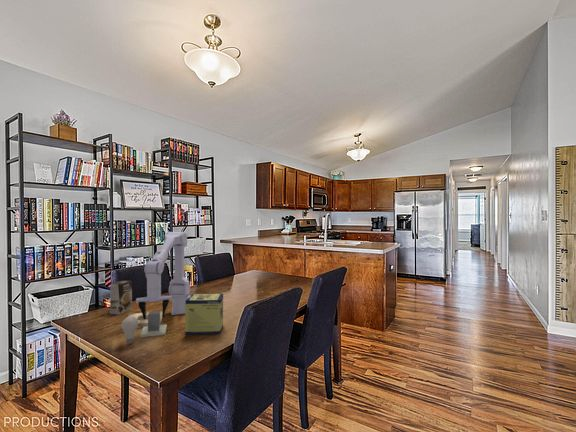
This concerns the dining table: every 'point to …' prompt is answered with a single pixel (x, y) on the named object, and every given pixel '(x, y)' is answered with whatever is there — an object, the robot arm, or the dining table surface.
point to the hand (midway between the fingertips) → (154, 317)
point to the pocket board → (142, 321)
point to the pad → (153, 333)
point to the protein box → (204, 314)
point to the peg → (154, 321)
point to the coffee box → (120, 297)
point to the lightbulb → (129, 328)
